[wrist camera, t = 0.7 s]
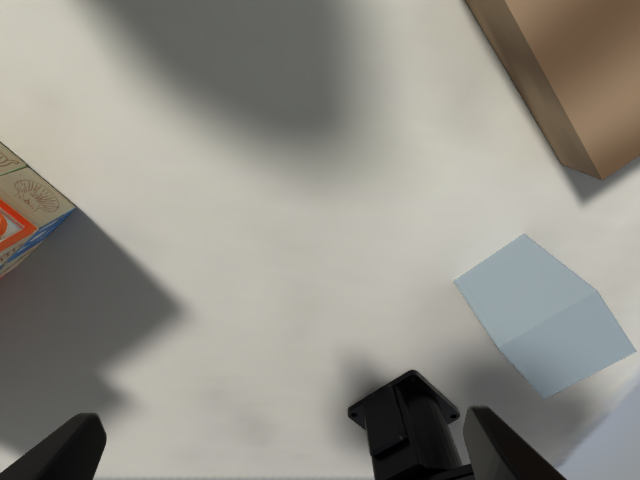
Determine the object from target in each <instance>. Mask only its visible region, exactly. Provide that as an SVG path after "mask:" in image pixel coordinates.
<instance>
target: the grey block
mask: <svg viewBox="0 0 640 480" xmlns="http://www.w3.org/2000/svg"><path fill="white" fill-rule="evenodd" d="M454 283H455V284H456V286H457V287H458V289H459V290H460V292H461V293H462V295H463V296H464V298H465V299H466V301H467V302H468V304H469V305H470V307H471V308H472V310H473V311H474V313H475V314H476V316H477V317H478V319H479V320H480V322H481V323H482V325H483V326H484V328H485V329H486V331H487V332H488V334H489V335H490V337H491V338H492V340H493V341H494V343H495V344H496V346H497V347H498V349H499V350H500V351H501V352H502V353H503V354H504V355H505V356H506V358H507V359H508V360H509V361H510V362H511V363H512V364H513V365H514V367H515V368H516V369H517V370H518V371H519V372H520V373H521V374H522V375H523V377H524V378H525V379H526V380H527V381H528V382H529V383H530V384H531V386H532V387H533V388H534V389H535V390H536V391H537V392H538V393H539V394H540V396H541V397H542V398H543V399H546V398H548V397H550V396H552V395H554V394H555V393H557V392H559V391H561V390H563V389H565V388H567V387H569V386H571V385H573V384H575V383H577V382H579V381H581V380H583V379H584V378H586V377H588V376H590V375H592V374H594V373H596V372H598V371H600V370H602V369H604V368H606V367H608V366H610V365H611V364H613V363H615V362H617V361H619V360H621V359H623V358H625V357H627V356H629V355H631V354H633V353H635V352H637V351H636V349H635V348H634V346H633V345H632V343H631V342H630V340H629V339H628V337H627V336H626V334H625V333H624V331H623V329H622V328H621V326H620V325H619V323H618V322H617V320H616V319H615V317H614V316H613V314H612V312H611V311H610V309H609V308H608V306H607V305H606V303H605V302H604V300H603V299H602V297H601V296H600V294H599V292H598V291H597V290H596V289H595V288H594V287H592V286H591V285H590V284H588V283H587V282H586V281H585V280H583V279H582V278H581V277H579V276H578V275H577V274H576V273H574V272H573V271H572V270H570V269H569V268H568V267H567V266H565V265H564V264H563V263H562V262H560V261H559V260H558V259H556V258H555V257H554V256H553V255H551V254H550V253H549V252H547V251H546V250H545V249H544V248H542V247H541V246H540V245H538V244H537V243H536V242H535V241H533V240H532V239H531V238H529V237H528V236H527V235H526V234H523V235H521V236H520V237H518V238H517V239H515V240H514V241H512V242H511V243H509V244H508V245H506V246H505V247H503V248H502V249H500V250H499V251H497V252H496V253H494V254H493V255H492V256H490V257H489V258H487V259H486V260H484V261H483V262H481V263H480V264H478V265H477V266H475V267H474V268H472V269H471V270H469V271H468V272H466V273H465V274H463V275H462V276H460V277H459V278H457V279H456V280H454Z"/></svg>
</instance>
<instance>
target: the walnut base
mask: <svg viewBox="0 0 640 480" xmlns="http://www.w3.org/2000/svg"><path fill="white" fill-rule="evenodd" d="M465 1H466V2H467V4H468V6H469V8H470V9H471V11H472V13H473V14H474V16H475V18H476V20H477V21H478V23H479V25H480V26H481V28H482V30H483V31H484V33H485V35H486V37H487V38H488V40H489V42H490V43H491V45H492V47H493V48H494V50H495V52H496V54H497V55H498V57H499V59H500V60H501V62H502V64H503V65H504V67H505V69H506V71H507V72H508V74H509V76H510V77H511V79H512V81H513V82H514V84H515V86H516V88H517V89H518V91H519V93H520V94H521V96H522V98H523V99H524V101H525V103H526V105H527V106H528V108H529V110H530V111H531V113H532V115H533V117H534V118H535V120H536V122H537V123H538V125H539V127H540V128H541V130H542V132H543V134H544V135H545V137H546V139H547V140H548V142H549V144H550V145H551V147H552V149H553V151H554V152H555V154H556V156H557V157H558V159H559V161H560V162H561V164H562V165H565V166H567V167H570V168H573V169H575V170H578V171H580V172H583V173H585V174H588V175H591V176H593V177H596V178H598V179H601V180H604V179H605V178H607V177H608V176H609V175H611V174H612V173H614V172H615V171H617V170H618V169H620V168H621V167H623V166H624V165H626V164H627V163H629V162H630V161H632V160H633V159H635V158H636V157H638V156H639V155H640V0H465Z"/></svg>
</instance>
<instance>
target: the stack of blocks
mask: <svg viewBox="0 0 640 480" xmlns="http://www.w3.org/2000/svg"><path fill="white" fill-rule="evenodd" d="M75 208H76V207H75V206H74V205H73V204H71V203H70V202H69V201H68V200H67V199H66V198H65V197H63V196H62V195H61V194H60V193H59V192H58V191H56V190H55V189H54V188H53V187H52V186H50V185H49V184H48V183H47V182H46V181H44V180H43V179H42V178H41V177H40V176H38V175H37V174H36V173H35V172H34V171H32V170H31V169H30V168H28V167H27V166H26V164H25V163H24V162H23V161H21V160H20V159H19V158H18V157H17V156H15V155H14V154H13V153H12V152H11V151H9V150H8V149H7V148H6V147H5V146H3V145H2V144H1V143H0V279H1V278H2V277H3V276H4V275H5V274H6V273H8V272H10V271H11V270H12V269H14V268H15V267H17V266H18V265H19V264H20V263H21V262H22V261H23V260H24V259H25V258H26V257H27V256H28V255H30V254H31V253H32V252H33V251H34V250H35V249H36V248H37V247H38V246H39V245H40V244H41V243H42V242H43V241H44V239H45V238H46V237H47V236H48V235H49V234H50V233H51V232H52V231H53V230H54V229H55V228H56V227H57V226H58V225H60V224H61V223H62V222H63V221H64V220H65V219H66V218H67V217H68V216H69V215H70V214H71V213H72V212H73V211H74V210H75Z"/></svg>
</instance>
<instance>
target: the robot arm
mask: <svg viewBox="0 0 640 480" xmlns="http://www.w3.org/2000/svg"><path fill="white" fill-rule="evenodd" d="M412 377H413V378H412ZM348 417H349V418H350V419H352V420H353V421H354V422H356V423H357V424H358V425H360V426H361V427H362V428H363V429H365V430H366V433H367V440H368V446H369V453H370V455H371V458H372V465H373V471H374V478H375V480H567V479H566V478H565V477H563V476H562V475H561V474H560V473H559V472H558V471H557V470H556V469H555V468H554V467H553V466H552V465H551V464H549V463H548V462H547V461H546V460H545V459H544V458H543V457H542V456H541V455H540V454H539V453H538V452H536V451H535V450H534V449H533V448H532V447H531V446H530V445H529V444H528V443H527V442H526V441H525V440H524V439H522V438H521V437H520V436H519V435H518V434H517V433H516V432H515V431H514V430H513V429H512V428H511V427H509V426H508V425H507V424H506V423H505V422H504V421H503V420H502V419H501V418H500V417H499V416H498V415H496V414H495V413H494V412H493V411H492V410H491V409H490V408H489V407H487V406H483V405H482V406H470V407H469V408H468V410H467V415H466V419H465V423H464V427H463V435H464V440H465V443H466V447H467V450H468V454H469V458H470V461H471V464H468V465H464V466H463V464H462V462H461V459H460V456H459V454H458V451H457V449H456V446H455V443H454V441H453V438H452V435H451V433H450V430H449V427H448V424H450V423H451V422H453V421H455V420H457V419H458V418H459V417H460V414H459V412H458V410H457V408H455V407H454V406H453V405H452V404H451V403H450V402H449V401H448V400H447V399H446V398H445V397H444V396H442V395H441V394H440V393H439V392H438V391H437V390H436V389H435V388H434V387H433V386H432V385H431V384H429V383H428V382H427V381H426V380H425V379H424V378H423V377H422V376H421V375H420V374H419V373H418V372H416V371H413V370H412V371H408V372H406V373H405V374H403V375H401V376H400V377H398V378H396V379H395V380H393V381H392V382H390V383H388V384H387V385H385V386H383V387H382V388H380V389H379V390H377V391H375V392H374V393H372V394H370V395H369V396H367V397H366V398H364V399H362V400H361V401H359V402H357V403H356V404H354V405H353V406H351V407H349V408H348ZM106 439H107V437H106V432H105V430H104V427H103V425H102V423H101V420H100V418H99V416H98V414H96V413H80V414H77V415H75V416H74V417H72V418H71V419H70V420H69V421H67V422H66V423H65V424H63V425H62V426H61V427H59V428H58V429H57V430H56V431H54V432H53V433H52V434H50V435H49V436H48V437H47V438H45V439H44V440H43V441H41V442H40V443H39V444H37V445H36V446H35V447H34V448H32V449H31V450H30V451H28V452H27V453H26V454H25V455H23V456H22V457H21V458H19V459H18V460H17V461H15V462H14V463H13V464H12V465H10V466H9V467H8V468H6V469H5V470H4V471H3V472H1V473H0V480H93V477H94V475H95V472H96V469H97V467H98V464H99V461H100V459H101V456H102V453H103V451H104V448H105V445H106Z"/></svg>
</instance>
